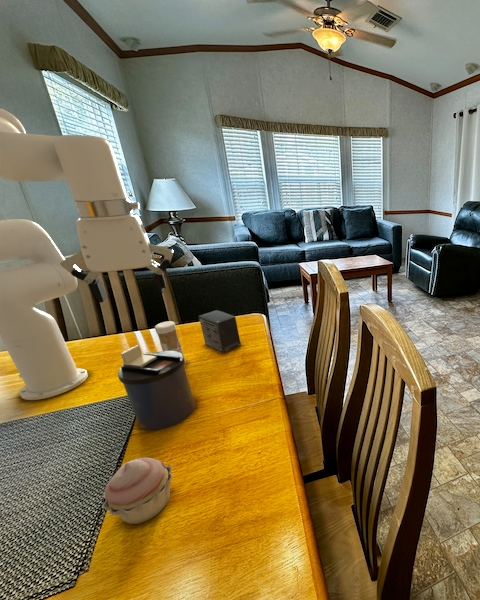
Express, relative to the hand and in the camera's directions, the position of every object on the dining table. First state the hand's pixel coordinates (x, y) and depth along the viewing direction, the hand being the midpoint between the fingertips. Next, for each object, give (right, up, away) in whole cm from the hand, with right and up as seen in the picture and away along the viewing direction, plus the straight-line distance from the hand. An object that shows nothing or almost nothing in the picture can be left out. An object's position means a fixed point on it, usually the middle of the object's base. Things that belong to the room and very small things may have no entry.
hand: (133, 295), depth 67 cm
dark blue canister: (+1, -27, +9) cm, 29 cm away
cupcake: (+12, -36, -12) cm, 40 cm away
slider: (-2, -14, +5) cm, 15 cm away
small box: (-2, -16, +38) cm, 41 cm away
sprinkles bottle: (-10, -20, +27) cm, 35 cm away
